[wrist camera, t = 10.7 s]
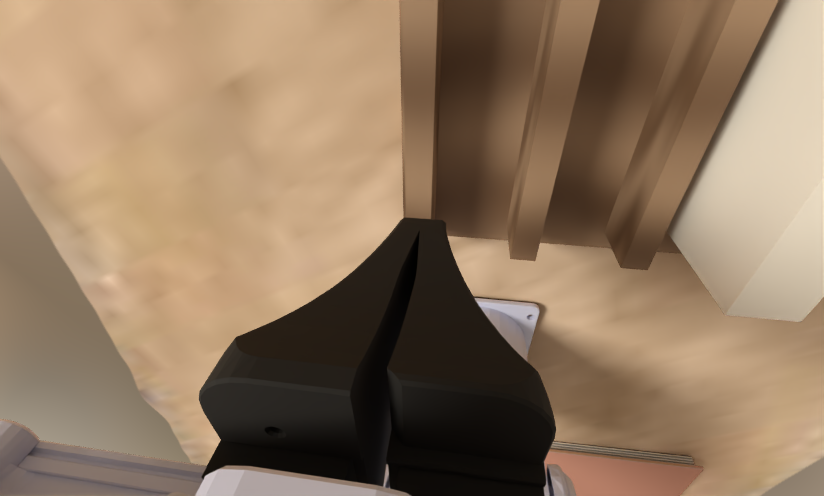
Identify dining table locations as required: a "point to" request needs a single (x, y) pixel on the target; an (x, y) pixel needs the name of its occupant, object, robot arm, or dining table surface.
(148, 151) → the dining table surface
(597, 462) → the notebook
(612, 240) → the rack
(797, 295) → the block
